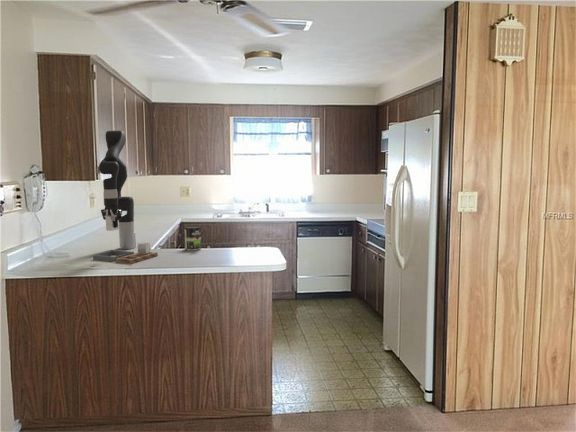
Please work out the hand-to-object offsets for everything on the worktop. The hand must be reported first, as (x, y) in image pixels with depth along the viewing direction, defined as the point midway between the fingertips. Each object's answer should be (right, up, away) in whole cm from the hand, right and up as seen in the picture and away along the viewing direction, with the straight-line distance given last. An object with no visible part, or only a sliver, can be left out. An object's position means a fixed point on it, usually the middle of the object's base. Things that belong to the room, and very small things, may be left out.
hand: (112, 227), depth 268 cm
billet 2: (+17, -17, +4) cm, 24 cm away
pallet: (+15, -19, -2) cm, 24 cm away
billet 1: (0, -1, 0) cm, 1 cm away
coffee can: (+39, -15, +32) cm, 53 cm away
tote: (0, -19, +2) cm, 19 cm away
